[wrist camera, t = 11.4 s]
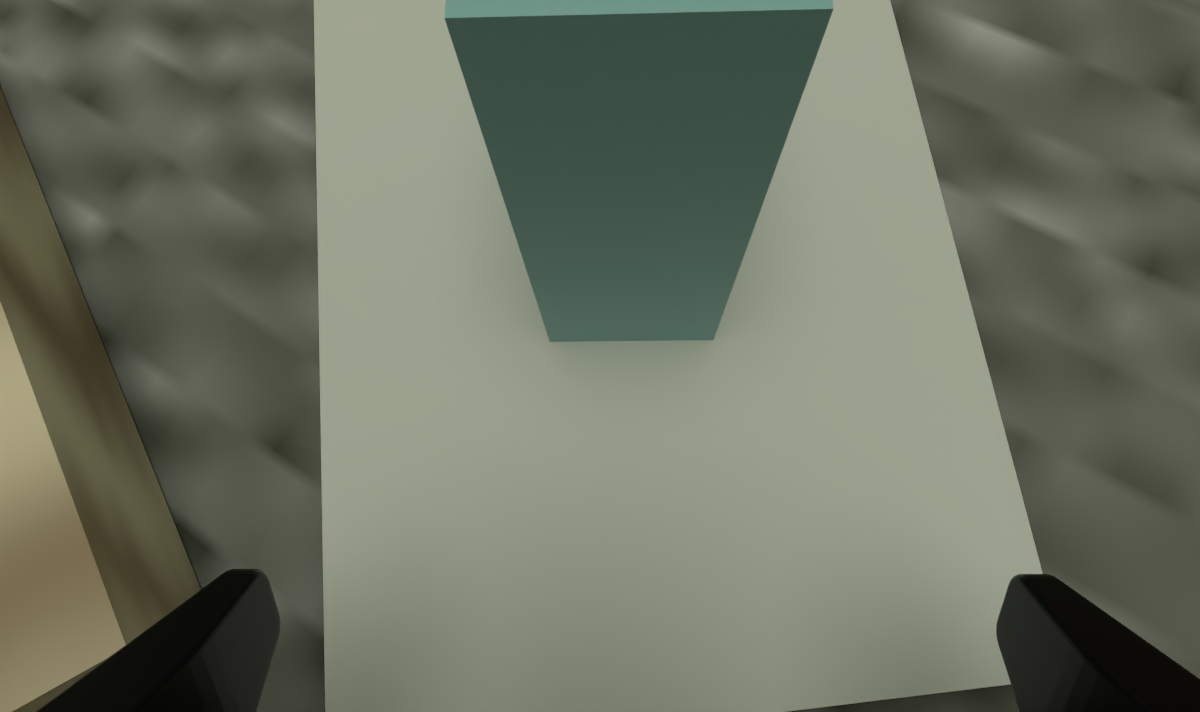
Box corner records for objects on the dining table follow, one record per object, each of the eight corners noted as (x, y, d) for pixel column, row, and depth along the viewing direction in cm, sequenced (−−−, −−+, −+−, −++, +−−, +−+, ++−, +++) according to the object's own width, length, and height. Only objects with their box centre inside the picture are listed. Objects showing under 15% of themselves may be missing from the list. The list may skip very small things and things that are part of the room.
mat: (1058, 674, 15) (1069, 677, 14) (333, 762, 15) (325, 767, 14) (845, -136, 20) (850, -150, 20) (318, -72, 20) (312, -85, 20)
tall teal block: (713, 340, 17) (833, 9, 7) (549, 342, 17) (444, 18, 7) (704, 133, 18) (794, -382, 8) (553, 136, 18) (469, -370, 8)
